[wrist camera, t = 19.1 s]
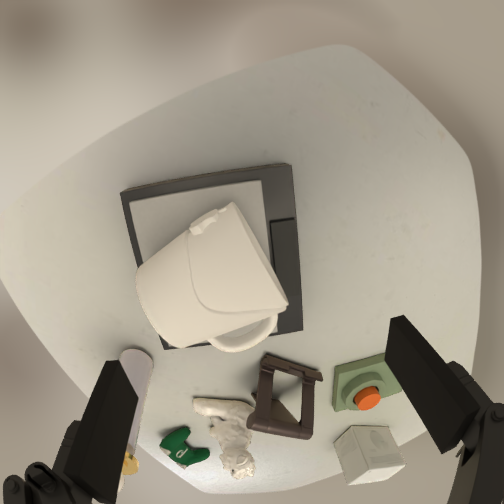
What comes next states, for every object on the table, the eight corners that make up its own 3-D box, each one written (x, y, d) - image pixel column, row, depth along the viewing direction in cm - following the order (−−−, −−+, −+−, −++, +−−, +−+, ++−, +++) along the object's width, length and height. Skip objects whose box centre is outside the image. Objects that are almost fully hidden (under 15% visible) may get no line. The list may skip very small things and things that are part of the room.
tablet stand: (320, 369, 38) (338, 413, 30) (290, 403, 40) (301, 447, 33) (266, 351, 36) (277, 399, 28) (237, 389, 38) (242, 436, 30)
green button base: (407, 345, 39) (418, 359, 36) (397, 385, 42) (405, 398, 39) (335, 366, 38) (343, 382, 35) (332, 404, 42) (338, 420, 38)
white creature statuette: (189, 396, 38) (184, 466, 27) (247, 384, 38) (256, 456, 27) (212, 431, 41) (213, 493, 30) (264, 420, 41) (274, 483, 30)
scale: (285, 163, 28) (293, 165, 25) (298, 318, 35) (305, 334, 32) (127, 188, 28) (116, 194, 25) (166, 337, 34) (163, 354, 31)
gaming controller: (176, 418, 42) (151, 441, 38) (189, 428, 39) (163, 452, 36) (200, 445, 45) (178, 465, 42) (213, 454, 43) (191, 476, 39)
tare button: (378, 382, 37) (382, 391, 35) (374, 398, 38) (378, 406, 36) (355, 389, 37) (359, 398, 35) (352, 404, 38) (356, 413, 36)
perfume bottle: (146, 337, 34) (106, 480, 15) (166, 370, 36) (145, 506, 17) (109, 346, 34) (59, 475, 15) (130, 377, 36) (98, 502, 17)
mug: (143, 244, 26) (117, 281, 19) (231, 193, 26) (235, 213, 18) (209, 337, 31) (208, 390, 23) (289, 298, 30) (309, 346, 22)
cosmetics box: (331, 444, 47) (346, 486, 37) (351, 424, 45) (369, 469, 35) (369, 444, 49) (386, 481, 39) (388, 426, 47) (408, 464, 37)
